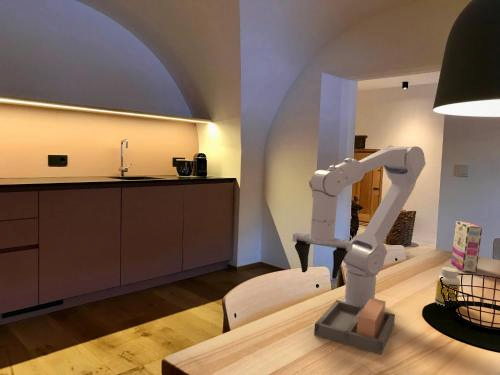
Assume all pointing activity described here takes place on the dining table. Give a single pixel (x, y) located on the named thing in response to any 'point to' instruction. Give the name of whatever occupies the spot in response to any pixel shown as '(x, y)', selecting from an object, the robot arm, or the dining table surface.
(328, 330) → the grey divided tray
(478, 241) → the candy bar box
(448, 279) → the supplement bottle
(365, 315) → the tan rectangular block
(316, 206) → the robot arm
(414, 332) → the dining table surface
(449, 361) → the dining table surface
